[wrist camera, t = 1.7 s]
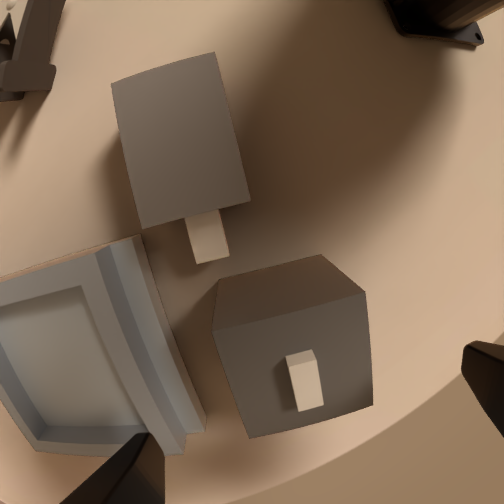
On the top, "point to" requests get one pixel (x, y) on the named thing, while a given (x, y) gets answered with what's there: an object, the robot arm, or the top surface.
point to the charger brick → (293, 344)
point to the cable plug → (181, 149)
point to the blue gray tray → (93, 355)
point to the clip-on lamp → (27, 46)
